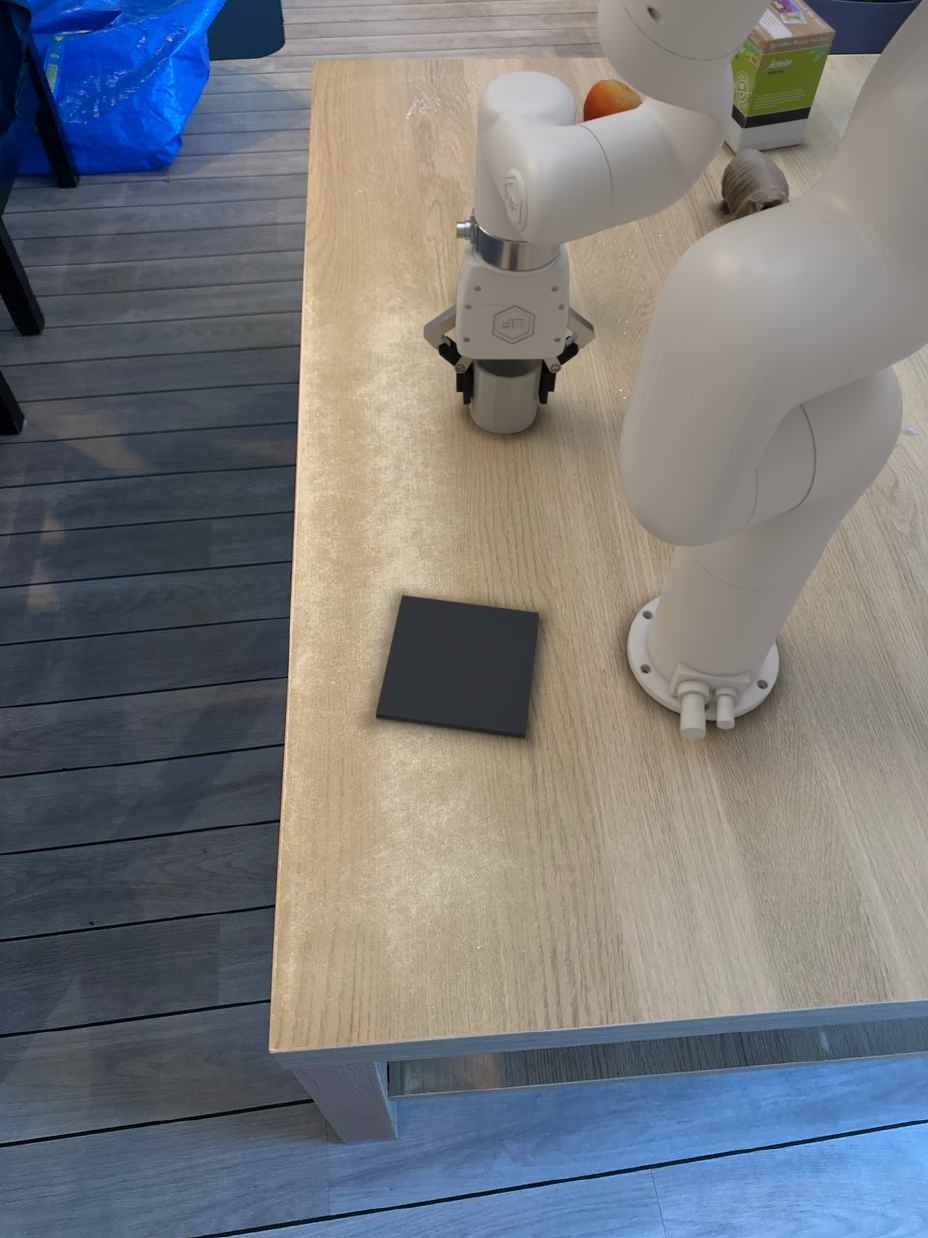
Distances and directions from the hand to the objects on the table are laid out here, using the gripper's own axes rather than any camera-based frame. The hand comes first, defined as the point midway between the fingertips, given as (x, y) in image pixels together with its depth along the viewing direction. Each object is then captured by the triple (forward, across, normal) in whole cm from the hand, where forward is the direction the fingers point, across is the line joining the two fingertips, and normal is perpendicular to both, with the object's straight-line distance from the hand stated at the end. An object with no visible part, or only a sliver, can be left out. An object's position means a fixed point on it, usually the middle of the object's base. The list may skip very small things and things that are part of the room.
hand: (504, 394), depth 96 cm
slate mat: (+2, -5, -31) cm, 31 cm away
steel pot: (+2, 0, 0) cm, 2 cm away
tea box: (+2, +36, +56) cm, 67 cm away
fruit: (+2, +17, +53) cm, 56 cm away
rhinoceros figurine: (+2, +30, +28) cm, 41 cm away
